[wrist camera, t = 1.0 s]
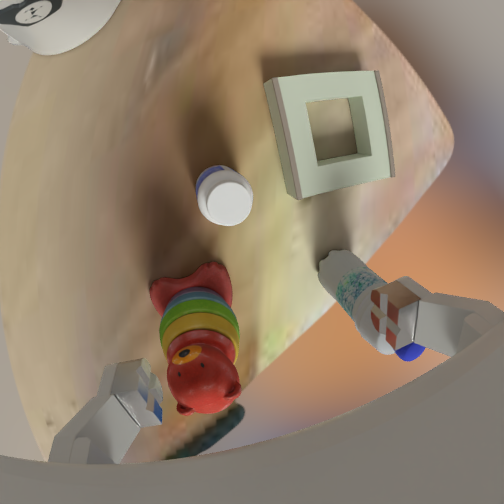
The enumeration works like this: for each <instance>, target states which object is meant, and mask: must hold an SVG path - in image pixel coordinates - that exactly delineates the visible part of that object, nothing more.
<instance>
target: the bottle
mask: <svg viewBox="0 0 504 504" xmlns="http://www.w3.org/2000/svg"><path fill="white" fill-rule="evenodd" d="M328 254H329V256H328V257H327V258H326V259H324V260H323V259H322V260H321V261H320V263H319V268H320V270H319V273H318V278H319V281H320V283H321V284H322V286H323V287H324V288H325V290H326V291H327V292H328V293H329V294H330V295H331V296H332V297H333V298H334V299H336V300H337V301H338V303H339V304H340V305H341V306H342V308H343V309H344V310H345V311H346V312H347V313H348V315H349V316H350V317H351V318H352V319H353V321H354V322H355V326H356V329H357V330H358V331H359V332H360V334H361V336H362V337H363V338H364V339H365V340H366V341H368V342H369V343H370V344H371V345H372V346H373V347H375V348H376V349H377V350H378V351H379V352H380V353H383V354H393V353H396V354H397V355H398V356H399V357H400V358H401V359H402V360H404V361H412V360H414V359H416V358H417V357H419V356H420V355H421V354H422V352H423V351H424V349H425V348H426V347H424V346H421V345H419V344H416V343H414V342H412V343H410V344H408V345H406V346H404V347H402V348H400V349H397V350H394V349H393V348H392V347H391V345H390V344H389V343H388V342H387V341H386V335H384V334H380V333H379V332H378V331H377V330H376V329H375V327H374V325H373V323H372V319H371V309H372V307H373V305H374V303H373V302H372V301H371V292H372V290H373V289H376V288H379V287H381V286H384V285H386V284H388V283H386V282H385V281H384V280H383V279H382V278H380V277H379V276H378V275H377V274H376V273H374V272H373V271H372V270H371V269H369V268H368V267H367V266H366V265H365V264H364V263H363V262H362V261H361V260H360V259H359V258H358V257H357V256H356V255H354V254H353V253H351V252H350V251H348V250H341V251H336V250H332V251H330V252H329V253H328Z"/></svg>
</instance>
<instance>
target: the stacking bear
mask: <svg viewBox="0 0 504 504" xmlns="http://www.w3.org/2000/svg"><path fill="white" fill-rule="evenodd" d="M150 297H151V300H152V302H153V305H154V306H155V308H156V310H157V311H158V313H159V314H160V315H161V316H162V319H161V324H160V330H159V333H160V341H161V346H162V349H163V352H164V355H165V358H166V360H167V362H168V364H169V365H168V369H167V380H168V385H169V388H170V391H171V393H172V395H173V396H174V398H175V399H176V400H177V402H178V404H177V411H178V412H179V413H180V414H182V415H185V416H187V415H191V414H193V413H194V412H197V413H205V414H209V413H216V412H219V411H222V410H224V409H225V408H227V407H228V406H229V405H230V404H231V403H232V402H233V400H234V399H236V398H238V397H239V396H240V394H241V385H240V384H239V376H238V373H237V370H236V368H235V366H234V363H235V361H236V359H237V357H238V352H239V338H240V336H239V326H238V322H237V319H236V316H235V314H234V313H233V311H232V309H231V304H232V286H231V281H230V277H229V275H228V272H227V270H226V268H225V267H224V266H223V265H221V264H218V263H216V262H210V263H205V264H202V265H201V266H200V267H199V268H198V269H197V270H196V271H195V272H194V273H193V274H191V275H190V276H188V277H185V278H181V279H172V278H167V277H163V278H160V279H159V280H155V281H154V282H153V283H152V287H151V288H150Z"/></svg>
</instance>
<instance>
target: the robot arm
mask: <svg viewBox="0 0 504 504" xmlns="http://www.w3.org/2000/svg"><path fill="white" fill-rule="evenodd" d="M120 1H121V0H0V30H1V31H3V32H4V33H6V34H7V35H8V42H10V43H11V44H13V45H24V46H26V47H28V48H29V49H30V50H31V51H33V52H35V53H37V54H41V55H55V54H59V53H63V52H66V51H68V50H71V49H73V48H75V47H77V46H79V45H80V44H82V43H84V42H85V41H87V40H88V39H89V38H91V37H92V36H93V35H94V34H96V33H97V32H98V31H99V30H100V29H101V28H102V27H103V26H104V25H105V24H106V22H107V21H108V20H109V19H110V17H111V16H112V14H113V13H114V11H115V9H116V8H117V6H118V4H119V2H120ZM371 301H372V302H373V303H374V305H373V307H372V309H371V319H372V323H373V325H374V327H375V329H376V330H377V331H378V332H379V333H380V334H384V335H386V341H387V342H388V343H389V344H390V345H391V347H392V348H393V349H394V350H397V349H400V348H402V347H404V346H406V345H408V344H410V343H412V342H414V343H416V344H419V345H421V346H424V347H426V348H429V349H432V350H435V351H437V352H440V353H442V354H445V355H448V356H450V357H451V358H449V359H448V360H446V361H445V362H443V363H441V364H440V365H438V366H437V367H435V368H433V369H432V370H430V371H428V372H427V373H425V374H423V375H421V376H420V377H418V378H416V379H414V380H413V381H411V382H409V383H407V384H405V385H403V386H402V387H400V388H398V389H396V390H394V391H392V392H390V393H388V394H386V395H384V396H382V397H380V398H378V399H376V400H374V401H371V402H369V403H367V404H365V405H363V406H361V407H358V408H356V409H354V410H352V411H349V412H347V413H344V414H342V415H339V416H337V417H334V418H332V419H329V420H327V421H324V422H321V423H319V424H316V425H313V426H310V427H307V428H305V429H302V430H299V431H296V432H293V433H289V434H287V435H283V436H280V437H277V438H273V439H270V440H266V441H263V442H259V443H255V444H251V445H247V446H243V447H239V448H235V449H230V450H226V451H221V452H216V453H210V454H205V455H199V456H193V457H187V458H180V459H172V460H164V461H154V462H143V463H128V464H119V463H120V462H121V460H122V458H123V457H124V455H125V453H126V452H127V450H128V448H129V447H130V445H131V444H132V442H133V440H134V439H135V437H136V435H137V434H138V432H139V431H140V428H142V427H148V426H154V425H160V424H162V408H161V407H160V405H159V404H160V403H161V402H162V400H163V392H162V387H161V384H160V382H159V379H158V378H157V376H156V375H155V374H153V373H151V372H150V370H151V366H150V364H149V362H148V361H147V359H145V358H141V359H136V360H131V361H125V362H119V363H114V364H109V365H107V366H105V368H104V372H103V375H102V379H101V382H100V386H99V389H98V393H97V397H93V398H92V399H91V400H90V401H89V402H88V403H87V404H86V405H85V406H84V407H83V408H82V409H81V410H80V411H79V412H78V413H77V414H76V415H75V416H74V417H73V418H72V419H71V420H70V421H69V422H68V423H67V424H66V425H65V426H64V427H63V428H62V430H61V431H60V432H59V433H58V434H57V435H56V436H55V437H54V441H53V444H52V448H51V451H50V455H49V459H48V462H43V461H34V460H27V459H20V458H14V457H8V456H2V455H0V504H504V312H503V311H501V310H500V309H499V308H497V307H496V306H494V305H493V304H492V303H490V302H488V301H483V300H477V299H471V298H465V297H459V296H453V295H447V294H441V293H434V294H432V293H431V292H429V291H428V290H427V289H425V288H424V287H422V286H421V285H419V284H418V283H417V282H415V281H414V280H412V279H411V278H410V277H408V276H404V277H401V278H399V279H397V280H395V281H394V282H391V283H389V284H386V285H384V286H381V287H379V288H376V289H373V290H372V292H371Z"/></svg>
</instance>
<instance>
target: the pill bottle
mask: <svg viewBox="0 0 504 504" xmlns="http://www.w3.org/2000/svg"><path fill="white" fill-rule="evenodd" d="M196 195H197V201H198V206H199V209H200V211H201V212H202V214H203V215H204V216H205V217H206V218H207V219H208V220H209V221H211V222H213V223H215V224H219V225H225V226H233V225H236V224H239V223H241V222H242V221H244V220H245V219H246V218H247V216H248V215H249V213H250V211H251V207H252V202H253V192H252V188H251V186H250V184H249V182H248V181H247V180H246V179H245V178H244V177H243V176H242V175H240V174H239V173H237V172H236V171H234V170H233V169H231V168H229V167H227V166H223V165H214V166H211V167H209V168H207V169H205V170H204V171H203V172H202V173H201V174H200V176H199V177H198V179H197V182H196Z"/></svg>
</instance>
